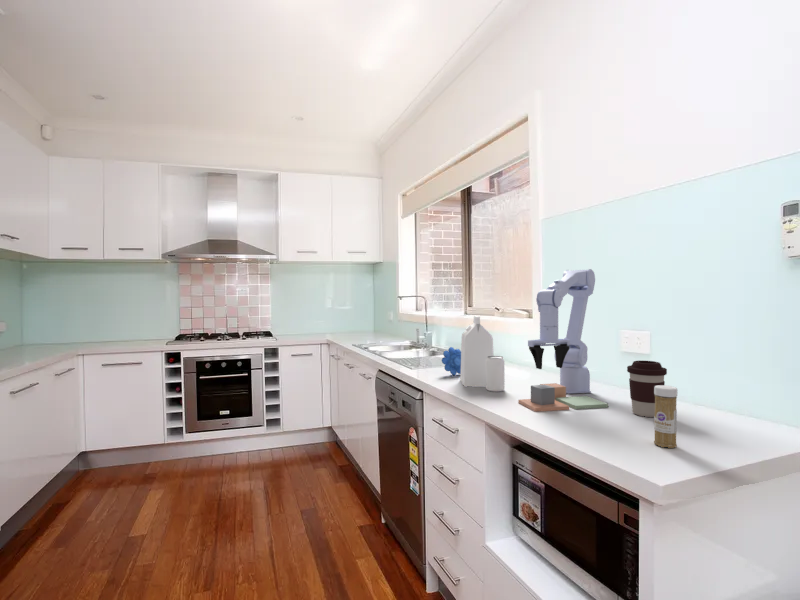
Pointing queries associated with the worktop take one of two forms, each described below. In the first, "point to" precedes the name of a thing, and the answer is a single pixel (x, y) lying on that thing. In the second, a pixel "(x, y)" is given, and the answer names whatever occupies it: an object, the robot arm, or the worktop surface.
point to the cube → (542, 394)
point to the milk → (475, 354)
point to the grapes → (452, 360)
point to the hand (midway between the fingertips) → (549, 368)
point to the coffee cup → (645, 386)
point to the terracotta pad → (543, 406)
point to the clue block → (558, 390)
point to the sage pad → (581, 402)
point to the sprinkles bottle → (665, 416)
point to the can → (495, 374)
